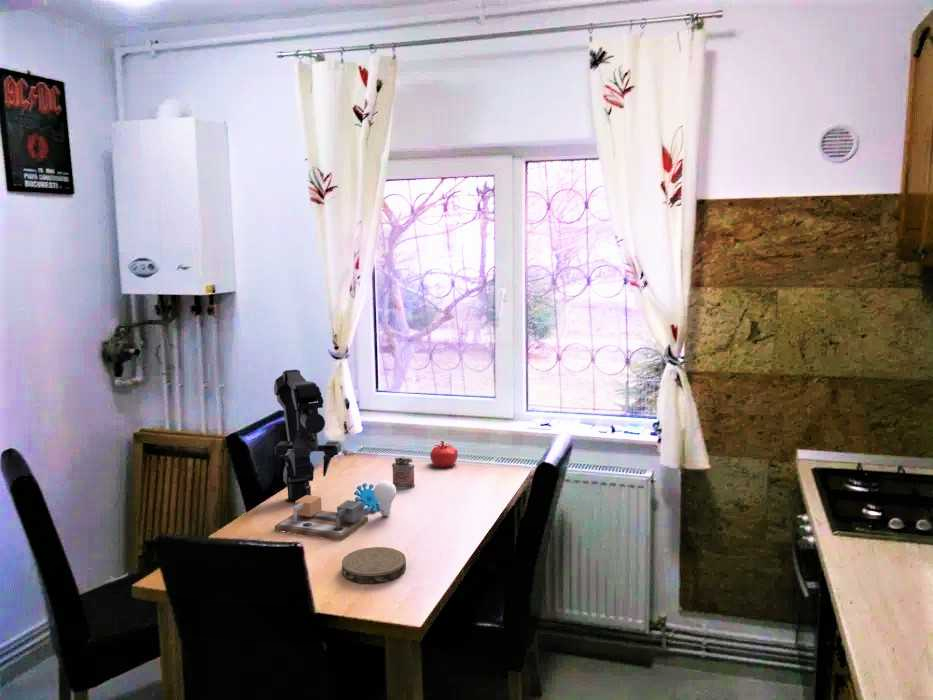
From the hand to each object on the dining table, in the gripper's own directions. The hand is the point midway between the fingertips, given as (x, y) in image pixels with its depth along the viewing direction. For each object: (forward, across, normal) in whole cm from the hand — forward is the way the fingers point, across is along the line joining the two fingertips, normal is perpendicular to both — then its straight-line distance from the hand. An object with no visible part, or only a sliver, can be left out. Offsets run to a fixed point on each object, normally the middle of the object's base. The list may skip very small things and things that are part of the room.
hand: (309, 476), depth 223 cm
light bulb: (+12, +23, 0) cm, 26 cm away
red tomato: (+13, +36, +51) cm, 64 cm away
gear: (+13, +17, +6) cm, 22 cm away
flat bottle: (+13, +24, +28) cm, 39 cm away
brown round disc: (+12, +25, -37) cm, 47 cm away
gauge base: (+12, +5, -8) cm, 16 cm away
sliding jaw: (+10, 0, -6) cm, 12 cm away
